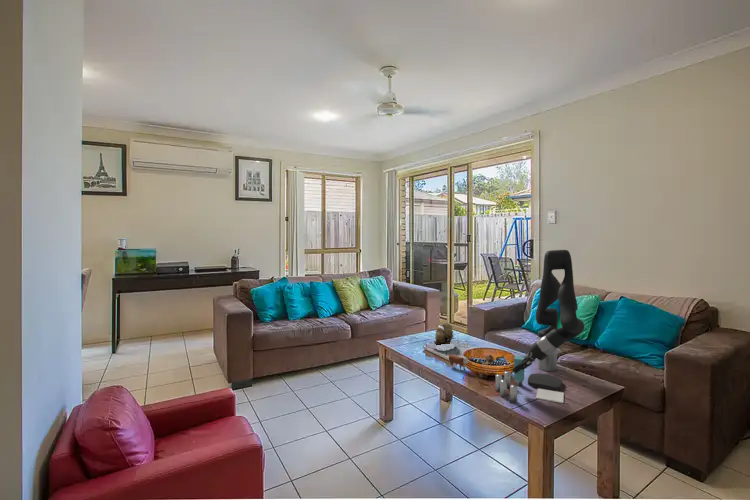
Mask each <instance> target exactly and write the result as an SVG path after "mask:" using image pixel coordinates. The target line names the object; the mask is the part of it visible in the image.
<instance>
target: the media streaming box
mask: <svg viewBox="0 0 750 500" xmlns="http://www.w3.org/2000/svg"><path fill="white" fill-rule="evenodd" d="M527 385H528V386H530V387H532V388H535V389H538V388H539V389H545V390H551V391H557V392H560V391H561V388H562V386H563V379H562V378H560V377H558V376H556V375H552V374H547V373H536V372H535V373H530V375H528V377H527Z"/></svg>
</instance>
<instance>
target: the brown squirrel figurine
mask: <svg viewBox="0 0 750 500" xmlns="http://www.w3.org/2000/svg"><path fill="white" fill-rule="evenodd" d="M441 325H442V327H440V326H439V327H437V328H436V331H435V337H434V341H433V343H434V345H435V344H436V345H441V344H450V342H452V340H453V338H454V330H453V327H452V325H451V323H448V322H445V321H444V322H442V324H441Z"/></svg>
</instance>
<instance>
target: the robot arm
mask: <svg viewBox="0 0 750 500" xmlns="http://www.w3.org/2000/svg"><path fill="white" fill-rule="evenodd" d="M554 270H564V277H563V278H562V281H561V283H560V281H559V280H558V278H556V276H555V275H554V274H553V271H554ZM574 286H575V285H574V271H573V261H572V257H571V253H570V251H569V250H567V249H552V250H548V251H546V252H545V253H544V258H543V270H542V279H541V284H540V290H539V298H538V304H537V308H536V311H535V322H536V323H537V324H538V325H541V326H548V327H547V328H544V329H541V330H539V332H538V339H537V340H536V341H535V342H534V343H532V344H531V345H530V346H529V351H528V352H526V354H525V355H523V357H524V359H523V360H522V362H521V363H520V364H519V365H517V366H516V367H515V368H514V367H513V368H512V371H513V373H514V372H515V373H517V372H519V371H520V370H521V369H522V370H524V371H525V369H527V368H528V367H530V366H531V365H533V363H535V362H536V359H537V361H538V363H537V365H538V369H540V370H541V371H546V372H555V371H557V368H558V348H560V347H561V346H562V345H563V344H565V343H566V342H567V341H570V340H572V339H574V338H576V337H577V336H579V335H581V334H582V333H583V331H584V330H585V322H584V321H583V320H581V319H580V318H578V315H577V311H578V308H579V306H578V301H577V297H576V292H575V287H574ZM557 300H558V303H559V308H560V314H558V309H556V308H553V307H550V306H551V305H553V304H554V303H555V302H556V301H557ZM559 317H560V318H559ZM559 319H560V325H561V326H560V327H559V328H558V324H559V323H558V321H559ZM522 365H524V366H522Z"/></svg>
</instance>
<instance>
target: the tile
mask: <svg viewBox="0 0 750 500" xmlns="http://www.w3.org/2000/svg"><path fill="white" fill-rule="evenodd" d="M564 395H565V393H564V392H562V391H551V390H545V389H539V388H537V390H536V396H535V399H536V400H541V401H546V402H547V401H549V402H552V403H553V402H554V403H558V404H564V397H565V396H564Z"/></svg>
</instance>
